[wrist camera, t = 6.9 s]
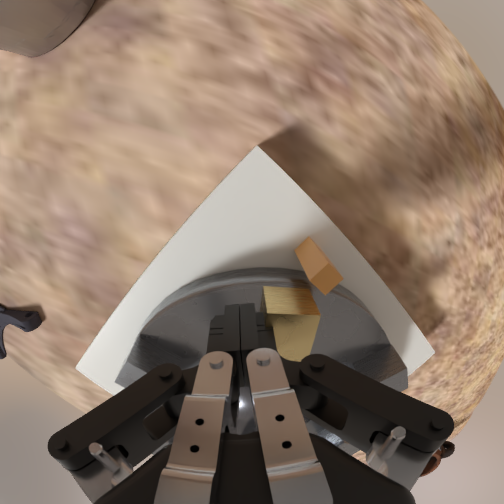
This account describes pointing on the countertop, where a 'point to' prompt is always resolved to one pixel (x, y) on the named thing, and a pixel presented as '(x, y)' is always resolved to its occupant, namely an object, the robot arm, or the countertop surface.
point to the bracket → (17, 323)
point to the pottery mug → (438, 457)
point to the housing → (252, 262)
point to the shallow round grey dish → (275, 314)
